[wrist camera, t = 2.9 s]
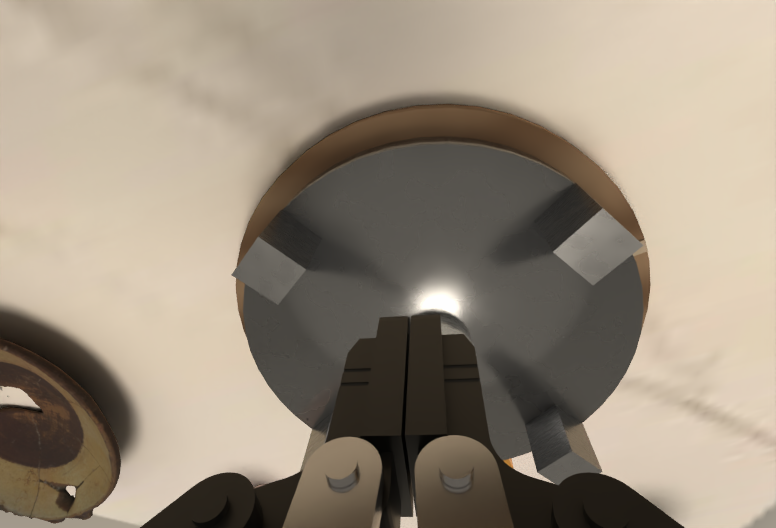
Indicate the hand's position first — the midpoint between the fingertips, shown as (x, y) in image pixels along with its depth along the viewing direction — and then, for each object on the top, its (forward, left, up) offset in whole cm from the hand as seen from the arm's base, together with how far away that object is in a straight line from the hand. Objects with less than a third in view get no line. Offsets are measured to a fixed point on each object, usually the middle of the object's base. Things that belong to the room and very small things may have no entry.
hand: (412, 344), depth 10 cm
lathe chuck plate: (+12, 0, -17) cm, 21 cm away
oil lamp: (+18, -40, -20) cm, 48 cm away
